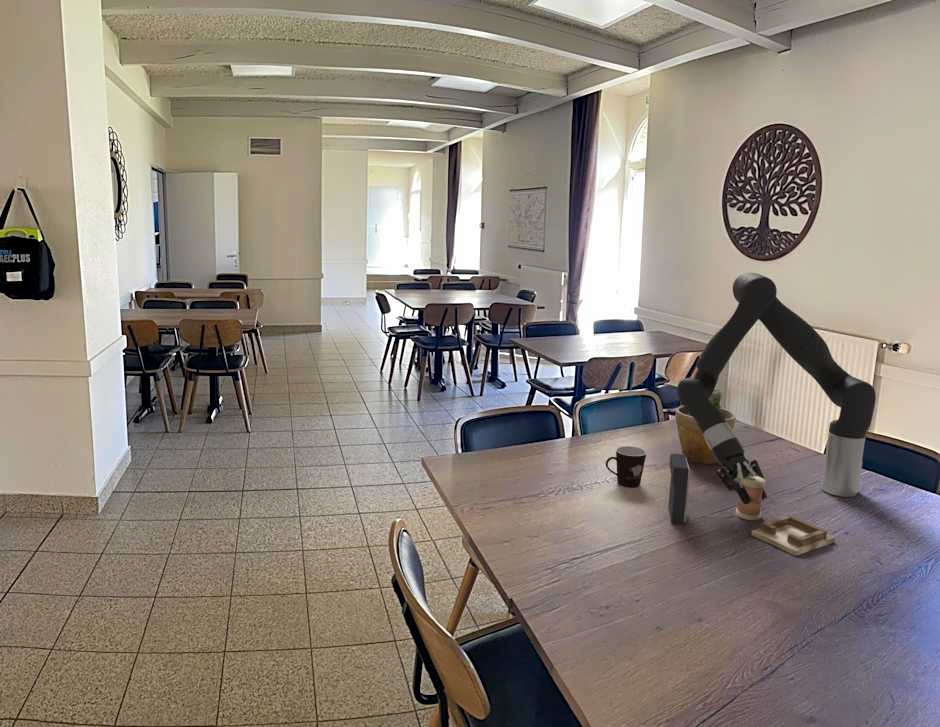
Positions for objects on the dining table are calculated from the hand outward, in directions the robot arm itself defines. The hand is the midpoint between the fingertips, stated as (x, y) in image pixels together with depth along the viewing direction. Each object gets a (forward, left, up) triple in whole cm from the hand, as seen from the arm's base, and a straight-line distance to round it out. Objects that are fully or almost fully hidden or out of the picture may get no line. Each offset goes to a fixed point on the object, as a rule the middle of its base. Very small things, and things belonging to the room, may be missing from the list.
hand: (756, 500), depth 179 cm
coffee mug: (+14, -34, -5) cm, 37 cm away
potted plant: (-24, -39, -5) cm, 46 cm away
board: (+2, +12, -5) cm, 13 cm away
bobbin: (0, -2, -5) cm, 5 cm away
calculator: (+17, -11, -5) cm, 21 cm away
